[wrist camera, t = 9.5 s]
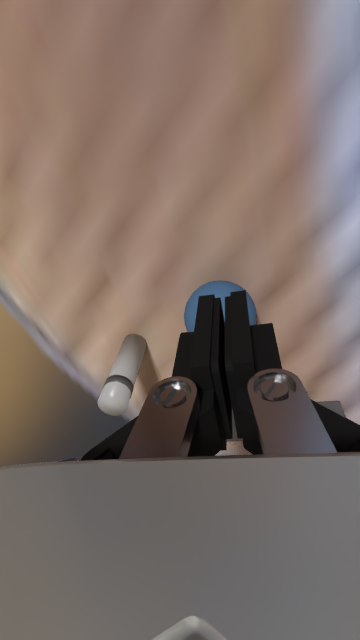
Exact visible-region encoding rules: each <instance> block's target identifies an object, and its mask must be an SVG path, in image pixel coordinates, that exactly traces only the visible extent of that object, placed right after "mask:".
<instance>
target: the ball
mask: <svg viewBox="0 0 360 640" xmlns="http://www.w3.org/2000/svg"><path fill="white" fill-rule="evenodd" d="M242 290H244V289H243V288H242V287H240V286H238V285H237V284H234V283H232V282H228V281H213V282H209V283H206V284H204V285H202V286H201V287H199V288H198V289H197V290H196V291H195V292H194V293H193V294H192V295H191V297H190V298H189V300H188V302H187V304H186V307H185V313H184V320H185V326H186V329H187V331H188V332H194V327H195V320H196V313H197V306H198V298H199V296H204V295H211V294H214V295H215V298H219V297H220V298H221V303H222V309H223V315H224V321H225V297H227V296H231V295H230V292H235V291H242ZM246 296H247V305H248V313H249V322H250V325H256V308H255V305H254V302H253V300H252V298H251V297H250V295H249V294H248V293H247V292H246Z"/></svg>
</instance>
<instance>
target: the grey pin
mask: <svg viewBox="0 0 360 640" xmlns="http://www.w3.org/2000/svg"><path fill="white" fill-rule="evenodd" d="M146 347H147V343H146V341H145V339H144V338H143V337H142V336H140V335H137V334H130V335H128V336H126V337H125V339H124V341H123V344H122V346H121V348H120V351H119V353H118V355H117V358H116V360H115V362H114V365H113V367H112V369H111V372H110V374H109V376H108V378H107V380H106V382H105V384H104V386H103V390H102V393H101V395H100V397H99V400H98V406H99V408H100V409H101V410H102V411H103V412H105V413H107V414H110V415H121V414H123V413H124V412H125V411H126V409H127V405H128V402H129V399H130V398H131V395H132V392H133V388H134V384H135V381H136V378H137V375H138V372H139V368H140V365H141V362H142V359H143V356H144V353H145V350H146Z"/></svg>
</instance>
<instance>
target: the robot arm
mask: <svg viewBox="0 0 360 640" xmlns="http://www.w3.org/2000/svg"><path fill="white" fill-rule="evenodd" d="M230 295H231V296H227V297H225V321H224V315H223V309H222V303H221V298H220V297H219V298H215V295H214V294H211V295H204V296H199V298H198V306H197V313H196V320H195V327H194V332H185V333H181V334H180V338H179V343H178V348H177V353H176V358H175V363H174V368H173V373H172V377H170V378H166V379H164V380H162V381H160V382H158V383H157V384H156V385H154V386H153V387H152V389H151V390H150V392H149V394H148V396H147V398H146V400H145V402H144V405H143V407H142V409H141V411H140V413H139V416H137V417H136V418H135V419H133V420H132V421H130V422H129V423H127V424H126V425H125V426H123V427H122V428H120V429H119V430H118V431H116V432H115V433H114V434H112V435H111V436H109V437H108V438H106V439H105V440H104V441H102V442H101V443H99V444H98V445H97V446H95V447H94V448H92V449H91V450H90V451H89V452H87V453H86V454H85V455H84V456H83V458H82V459H81V460H79V461H78V460H77V458H76V457H74V458H69V459H65V460H62V461H58V462H47V463H33V464H21V465H12V466H6V467H0V640H360V425H358V424H356V423H354V422H353V421H351V420H349V419H347V418H345V417H343V416H341V415H339V414H337V413H336V412H334V411H332V410H330V409H328V408H326V407H324V406H322V405H320V404H318V403H317V402H315V401H313V400H311V399H310V398H309V396H308V394H307V392H306V390H305V388H304V386H303V384H302V382H301V380H300V379H299V378H298V377H297V376H296V375H295V374H293V373H292V372H289V371H287V370H284V369H282V366H281V362H280V357H279V352H278V347H277V343H276V338H275V333H274V328H273V324H272V323H269V324H259V325H250V322H249V313H248V305H247V296H246V290H242V291H235V292H230ZM232 410H233V415H234V421H235V427H236V432H237V438H238V439H243V445H244V448H245V449H246V450H248V451H249V452H250V453H252V454H253V455H229V456H214V455H216V454H217V453H218V452H219V451H220V450H226V439H232V438H233V431H232Z"/></svg>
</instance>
